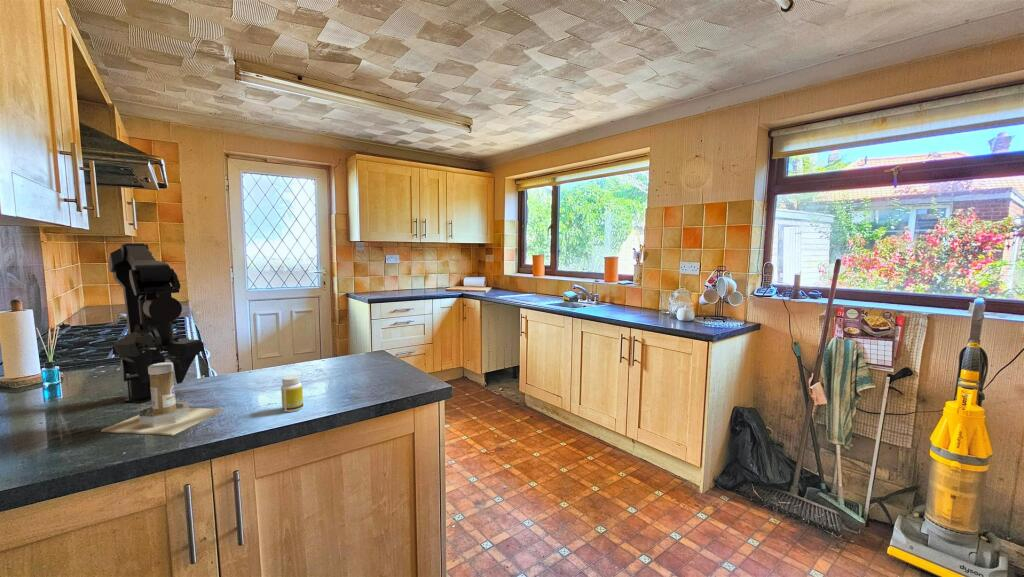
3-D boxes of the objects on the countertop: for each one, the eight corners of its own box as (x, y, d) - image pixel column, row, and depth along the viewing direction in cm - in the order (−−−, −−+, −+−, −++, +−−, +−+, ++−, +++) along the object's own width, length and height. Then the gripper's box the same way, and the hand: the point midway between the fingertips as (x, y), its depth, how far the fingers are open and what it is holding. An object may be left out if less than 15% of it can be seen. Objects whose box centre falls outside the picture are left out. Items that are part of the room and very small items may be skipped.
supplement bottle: (307, 406, 109) (305, 375, 108) (292, 413, 105) (290, 380, 104) (293, 404, 111) (291, 373, 110) (278, 411, 106) (276, 378, 105)
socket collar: (129, 426, 97) (128, 415, 97) (166, 411, 106) (165, 401, 106) (164, 427, 96) (164, 417, 96) (198, 412, 105) (198, 402, 105)
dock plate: (101, 431, 95) (101, 430, 95) (159, 408, 109) (159, 406, 109) (172, 435, 93) (172, 433, 93) (223, 410, 107) (223, 409, 107)
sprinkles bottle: (176, 420, 100) (171, 365, 99) (151, 424, 98) (146, 368, 96) (178, 413, 104) (173, 360, 103) (154, 418, 102) (149, 363, 100)
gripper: (82, 323, 92) (90, 392, 93) (159, 324, 89) (165, 395, 91) (134, 315, 103) (140, 377, 104) (203, 316, 100) (208, 379, 102)
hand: (162, 382), depth 100 cm, fingers open, 9 cm apart
